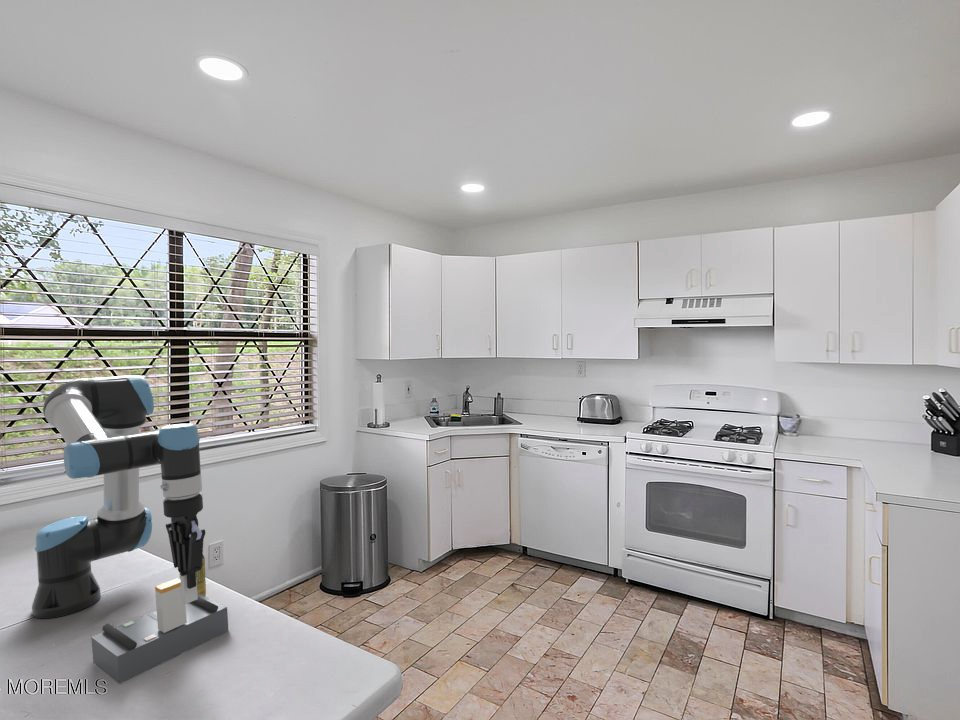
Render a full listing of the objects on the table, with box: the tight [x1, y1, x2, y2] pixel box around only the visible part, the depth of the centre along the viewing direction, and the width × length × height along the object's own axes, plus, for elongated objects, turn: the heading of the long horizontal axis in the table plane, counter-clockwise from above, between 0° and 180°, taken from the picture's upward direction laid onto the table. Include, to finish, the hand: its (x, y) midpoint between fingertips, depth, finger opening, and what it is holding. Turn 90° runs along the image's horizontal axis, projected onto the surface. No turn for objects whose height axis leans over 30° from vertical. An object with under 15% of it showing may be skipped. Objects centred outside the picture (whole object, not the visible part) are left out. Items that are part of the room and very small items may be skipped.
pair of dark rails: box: [101, 597, 218, 650], centre depth 126 cm, size 14×20×2 cm
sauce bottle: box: [196, 555, 207, 597], centre depth 147 cm, size 7×6×20 cm
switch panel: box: [90, 593, 229, 685], centre depth 126 cm, size 14×24×6 cm, turn 145°
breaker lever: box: [154, 577, 187, 633], centre depth 122 cm, size 3×5×10 cm, turn 145°
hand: (189, 600), depth 117 cm, fingers closed
